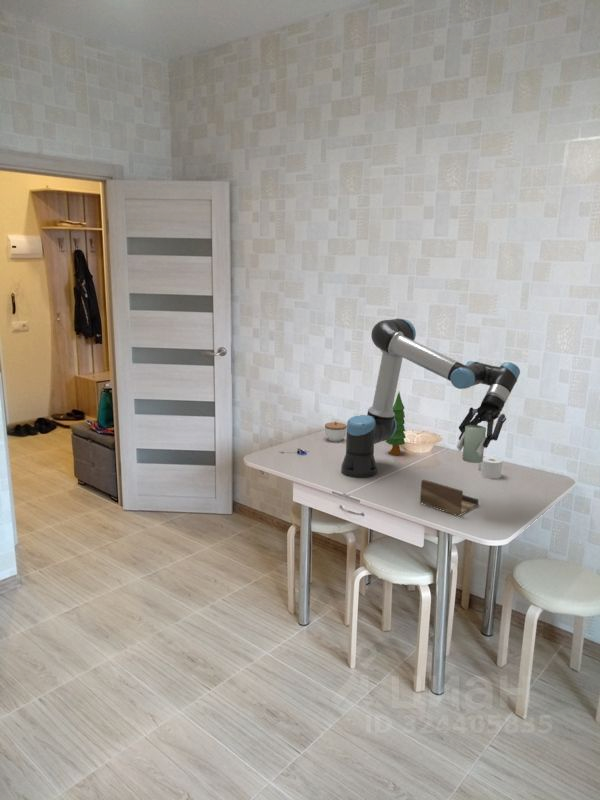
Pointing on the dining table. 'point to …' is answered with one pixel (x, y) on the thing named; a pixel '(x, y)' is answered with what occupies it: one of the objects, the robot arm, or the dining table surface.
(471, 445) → the canister
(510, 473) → the dining table surface
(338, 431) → the lidded jar
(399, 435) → the decorative tree
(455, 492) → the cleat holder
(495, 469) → the toilet paper
